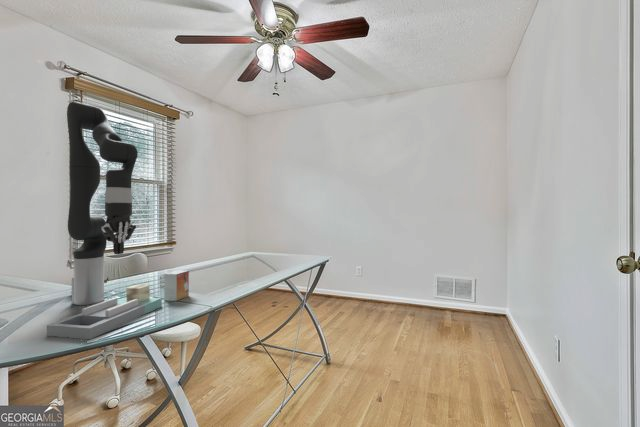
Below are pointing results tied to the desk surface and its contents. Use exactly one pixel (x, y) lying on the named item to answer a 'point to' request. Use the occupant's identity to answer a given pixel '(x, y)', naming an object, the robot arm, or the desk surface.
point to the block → (138, 293)
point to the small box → (176, 285)
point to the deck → (102, 318)
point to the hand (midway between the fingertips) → (118, 253)
